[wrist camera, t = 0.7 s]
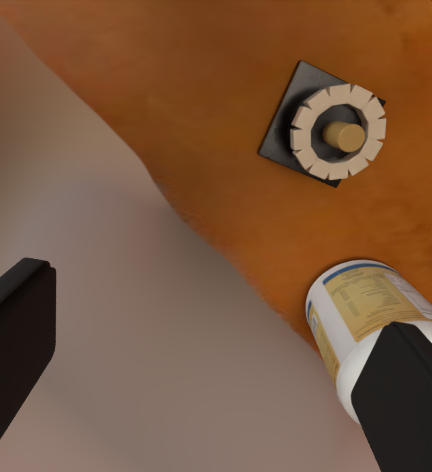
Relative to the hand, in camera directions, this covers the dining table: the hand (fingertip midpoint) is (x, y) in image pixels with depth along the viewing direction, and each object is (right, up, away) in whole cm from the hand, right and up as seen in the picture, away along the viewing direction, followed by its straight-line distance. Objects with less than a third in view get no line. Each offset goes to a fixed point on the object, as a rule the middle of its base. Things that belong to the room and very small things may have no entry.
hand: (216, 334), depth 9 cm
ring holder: (+10, +14, +23) cm, 29 cm away
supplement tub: (+17, -5, +31) cm, 36 cm away
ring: (+10, +12, +19) cm, 24 cm away
